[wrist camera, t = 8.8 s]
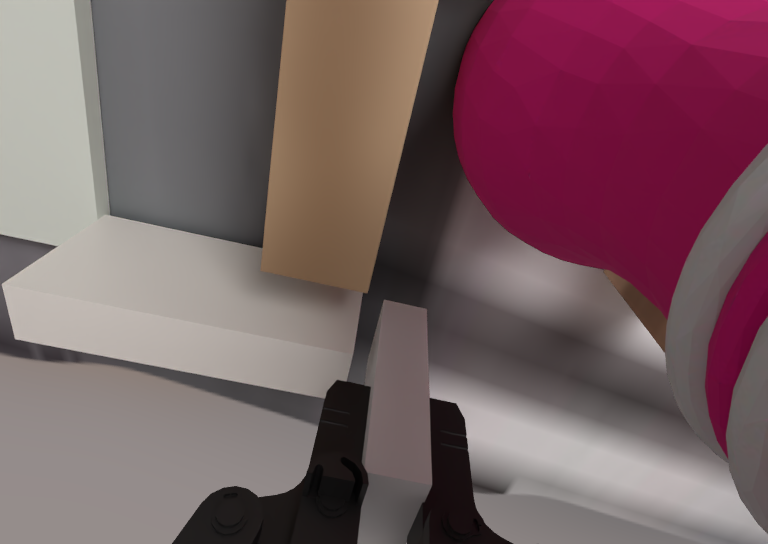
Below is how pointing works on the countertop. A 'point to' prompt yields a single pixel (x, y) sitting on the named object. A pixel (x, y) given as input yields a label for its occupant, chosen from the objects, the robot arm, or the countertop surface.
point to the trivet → (49, 121)
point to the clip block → (352, 140)
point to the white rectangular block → (185, 307)
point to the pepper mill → (642, 178)
